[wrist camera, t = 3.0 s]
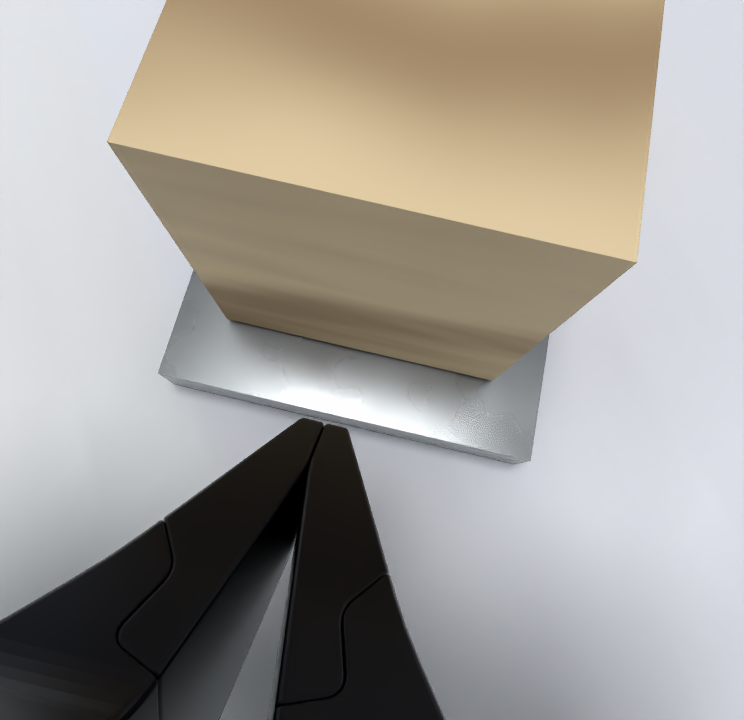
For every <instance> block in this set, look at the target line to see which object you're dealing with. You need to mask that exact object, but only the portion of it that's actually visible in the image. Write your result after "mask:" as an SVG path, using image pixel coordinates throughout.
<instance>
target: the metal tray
mask: <svg viewBox="0 0 744 720" xmlns="http://www.w3.org/2000/svg"><path fill="white" fill-rule="evenodd" d="M548 339H549V335H548V336H547V337H545V338H544V339H543V340H542V341H540V342H539V343H538V344H537V345H536V346H534V347H533V348H532V349H531V350H529V351H528V352H527V353H526V354H525V355H523V356H522V357H521V358H520V359H518V360H517V361H516V362H515V363H514V364H512V365H511V366H510V367H509V368H508V369H506V370H505V371H504V372H503V373H501V374H500V375H499V376H498V377H497V378H495V379H494V380H493V381H491V380H487V379H483V378H479V377H474V376H470V375H466V374H461V373H457V372H453V371H448V370H444V369H440V368H436V367H431V366H427V365H423V364H418V363H414V362H410V361H405V360H401V359H397V358H393V357H388V356H384V355H380V354H375V353H371V352H367V351H363V350H358V349H354V348H350V347H345V346H341V345H337V344H332V343H328V342H324V341H320V340H315V339H311V338H307V337H302V336H298V335H294V334H289V333H285V332H281V331H277V330H272V329H268V328H264V327H259V326H255V325H251V324H247V323H242V322H238V321H234V320H229V319H227V318H226V317H225V315H224V314H223V312H222V311H221V309H220V308H219V306H218V305H217V303H216V302H215V300H214V299H213V297H212V296H211V295H210V293H209V292H208V290H207V289H206V287H205V286H204V284H203V283H202V281H201V280H200V278H199V277H198V275H197V274H196V272H195V271H194V270H193V273H192V276H191V279H190V282H189V285H188V288H187V291H186V294H185V296H184V299H183V302H182V305H181V308H180V311H179V314H178V317H177V320H176V323H175V325H174V328H173V331H172V334H171V337H170V340H169V343H168V346H167V349H166V351H165V354H164V357H163V360H162V363H161V366H160V369H159V372H158V374H160V375H161V376H163V377H164V378H166V379H167V380H169V381H171V382H172V383H174V384H176V385H180V386H185V387H189V388H193V389H197V390H202V391H206V392H210V393H214V394H219V395H223V396H227V397H231V398H236V399H240V400H244V401H248V402H253V403H257V404H261V405H265V406H270V407H274V408H278V409H282V410H287V411H291V412H295V413H299V414H304V415H308V416H312V417H316V418H321V419H325V420H329V421H333V422H338V423H342V424H346V425H350V426H355V427H359V428H363V429H367V430H372V431H376V432H380V433H384V434H389V435H393V436H397V437H401V438H406V439H410V440H414V441H418V442H423V443H427V444H431V445H435V446H440V447H444V448H448V449H452V450H457V451H461V452H465V453H469V454H474V455H478V456H482V457H486V458H491V459H495V460H499V461H503V462H508V463H512V464H517V463H522V462H527V461H531V454H532V447H533V440H534V434H535V427H536V420H537V413H538V407H539V400H540V393H541V386H542V380H543V373H544V366H545V359H546V353H547V346H548Z"/></svg>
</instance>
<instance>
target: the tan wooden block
mask: <svg viewBox="0 0 744 720" xmlns="http://www.w3.org/2000/svg"><path fill="white" fill-rule="evenodd" d="M664 3H665V0H167V1H166V3H165V6H164V8H163V10H162V13H161V15H160V17H159V20H158V22H157V25H156V27H155V29H154V32H153V34H152V36H151V39H150V41H149V44H148V46H147V48H146V51H145V53H144V55H143V58H142V60H141V63H140V65H139V67H138V70H137V72H136V74H135V77H134V79H133V81H132V84H131V86H130V89H129V91H128V93H127V96H126V98H125V100H124V103H123V105H122V108H121V110H120V112H119V115H118V117H117V119H116V122H115V124H114V126H113V129H112V131H111V134H110V136H109V138H108V141H107V142H108V144H109V145H110V147H111V148H112V150H113V151H114V153H115V154H116V156H117V157H118V159H119V160H120V162H121V163H122V165H123V166H124V167H125V169H126V170H127V172H128V173H129V175H130V176H131V178H132V179H133V181H134V182H135V184H136V185H137V187H138V188H139V190H140V191H141V193H142V194H143V196H144V197H145V198H146V200H147V201H148V203H149V204H150V206H151V207H152V209H153V210H154V212H155V213H156V215H157V216H158V218H159V219H160V221H161V222H162V224H163V225H164V227H165V228H166V230H167V231H168V232H169V234H170V235H171V237H172V238H173V240H174V241H175V243H176V244H177V246H178V247H179V249H180V250H181V252H182V253H183V255H184V256H185V258H186V259H187V261H188V262H189V263H190V265H191V266H192V268H193V269H194V271H195V272H196V274H197V275H198V277H199V278H200V280H201V281H202V283H203V284H204V286H205V287H206V289H207V290H208V292H209V293H210V295H211V296H212V297H213V299H214V300H215V302H216V303H217V305H218V306H219V308H220V309H221V311H222V312H223V314H224V315H225V317H226V318H227V319H229V320H234V321H238V322H242V323H247V324H251V325H255V326H259V327H264V328H268V329H272V330H277V331H281V332H285V333H289V334H294V335H298V336H302V337H307V338H311V339H315V340H320V341H324V342H328V343H332V344H337V345H341V346H345V347H350V348H354V349H358V350H363V351H367V352H371V353H375V354H380V355H384V356H388V357H393V358H397V359H401V360H405V361H410V362H414V363H418V364H423V365H427V366H431V367H436V368H440V369H444V370H448V371H453V372H457V373H461V374H466V375H470V376H474V377H479V378H483V379H487V380H491V381H493V380H494V379H495V378H497V377H498V376H499V375H500V374H501V373H503V372H504V371H505V370H506V369H508V368H509V367H510V366H511V365H512V364H514V363H515V362H516V361H517V360H518V359H520V358H521V357H522V356H523V355H525V354H526V353H527V352H528V351H529V350H531V349H532V348H533V347H534V346H536V345H537V344H538V343H539V342H540V341H542V340H543V339H544V338H545V337H547V336H548V335H549V334H550V333H551V332H553V331H554V330H555V329H556V328H558V327H559V326H560V325H561V324H562V323H564V322H565V321H566V320H567V319H569V318H570V317H571V316H572V315H573V314H575V313H576V312H577V311H578V310H580V309H581V308H582V307H583V306H584V305H586V304H587V303H588V302H589V301H591V300H592V299H593V298H594V297H595V296H597V295H598V294H599V293H600V292H602V291H603V290H604V289H605V288H606V287H608V286H609V285H610V284H611V283H612V282H614V281H615V280H616V279H617V278H619V277H620V276H621V275H622V274H623V273H625V272H626V271H627V270H628V269H630V268H631V267H632V266H633V265H634V264H636V263H637V257H638V248H639V238H640V229H641V219H642V210H643V201H644V191H645V182H646V172H647V163H648V153H649V144H650V135H651V125H652V116H653V106H654V97H655V88H656V78H657V69H658V59H659V50H660V40H661V31H662V22H663V12H664Z"/></svg>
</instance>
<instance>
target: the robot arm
mask: <svg viewBox="0 0 744 720" xmlns="http://www.w3.org/2000/svg"><path fill="white" fill-rule="evenodd" d="M295 539H296V540H295ZM294 542H295V546H294ZM293 546H294V551H293V557H292V564H291V570H290V577H289V583H288V590H287V596H286V603H285V609H284V616H283V622H282V629H281V635H280V642H279V648H278V655H277V661H276V668H275V674H274V681H273V687H272V694H271V700H270V707H269V714H268V720H445V718H444V716H443V713H442V711H441V709H440V706H439V704H438V702H437V699H436V697H435V695H434V693H433V690H432V688H431V686H430V683H429V681H428V679H427V676H426V674H425V672H424V670H423V667H422V665H421V663H420V660H419V658H418V655H417V653H416V650H415V648H414V645H413V643H412V640H411V638H410V635H409V633H408V630H407V628H406V625H405V622H404V619H403V616H402V613H401V610H400V606H399V603H398V600H397V597H396V594H395V590H394V587H393V583H392V580H391V577H390V575H388V574H389V570H388V567H387V563H386V560H385V557H384V553H383V550H382V546H381V543H380V539H379V536H378V532H377V529H376V525H375V522H374V518H373V515H372V511H371V508H370V504H369V501H368V497H367V494H366V490H365V487H364V483H363V480H362V476H361V473H360V470H359V466H358V463H357V459H356V456H355V452H354V449H353V445H352V442H351V438H350V435H349V432H348V430H347V429H346V428H344V427H340V426H335V425H331V424H326V425H325V426H324V425H323V423H322V422H318V421H314V420H310V419H306V418H302V419H300V420H298V421H297V422H295V423H294V424H293V425H291V426H290V427H288V428H287V429H286V430H284V431H283V432H282V433H280V434H279V435H277V436H276V437H275V438H273V439H272V440H271V441H269V442H268V443H266V444H265V445H264V446H262V447H261V448H260V449H258V450H257V451H255V452H254V453H253V454H251V455H250V456H248V457H247V458H246V459H244V460H243V461H242V462H240V463H239V464H237V465H236V466H235V467H233V468H232V469H231V470H229V471H228V472H226V473H225V474H224V475H222V476H221V477H220V478H218V479H217V480H215V481H214V482H213V483H211V484H210V485H209V486H207V487H206V488H204V489H203V490H202V491H200V492H199V493H198V494H196V495H195V496H193V497H192V498H191V499H189V500H188V501H187V502H185V503H184V504H182V505H181V506H180V507H178V508H177V509H176V510H174V511H173V512H171V513H170V514H169V515H167V516H166V517H165V518H164V521H162V520H161V521H159V522H157V523H156V524H155V525H153V526H152V527H150V528H149V529H148V530H146V531H145V532H143V533H142V534H141V535H139V536H138V537H136V538H135V539H133V540H132V541H130V542H129V543H128V544H126V545H125V546H123V547H122V548H120V549H119V550H117V551H116V552H114V553H113V554H112V555H110V556H108V557H107V558H105V559H103V560H102V561H100V562H99V563H97V564H95V565H94V566H92V567H90V568H89V569H87V570H86V571H84V572H82V573H81V574H79V575H77V576H76V577H74V578H72V579H71V580H69V581H67V582H66V583H64V584H62V585H61V586H59V587H57V588H55V589H54V590H52V591H50V592H49V593H47V594H45V595H43V596H42V597H40V598H38V599H37V600H35V601H33V602H31V603H30V604H28V605H26V606H25V607H23V608H21V609H20V610H18V611H16V612H14V613H13V614H11V615H9V616H8V617H6V618H4V619H2V620H1V621H0V720H219V719H220V717H221V714H222V712H223V710H224V707H225V705H226V703H227V700H228V698H229V696H230V693H231V691H232V689H233V686H234V684H235V682H236V679H237V677H238V675H239V672H240V670H241V668H242V665H243V663H244V661H245V658H246V656H247V654H248V651H249V649H250V647H251V644H252V642H253V640H254V637H255V635H256V633H257V630H258V628H259V626H260V623H261V621H262V619H263V616H264V614H265V612H266V609H267V607H268V605H269V602H270V600H271V598H272V595H273V593H274V591H275V588H276V586H277V584H278V581H279V579H280V577H281V574H282V572H283V570H284V568H285V565H286V563H287V561H288V558H289V556H290V553H291V551H292V548H293Z"/></svg>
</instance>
